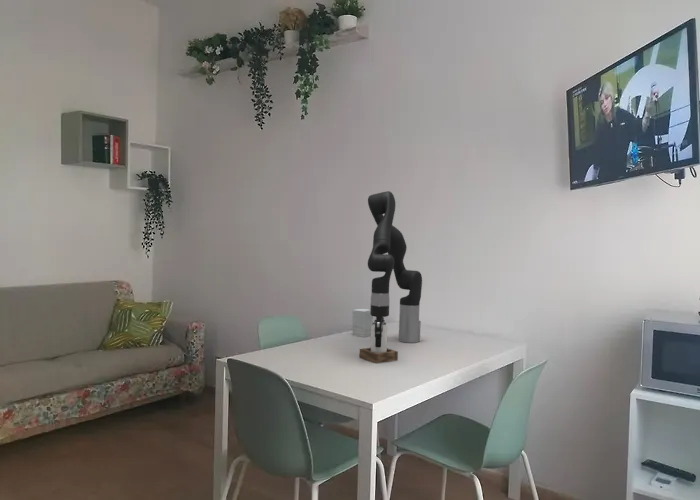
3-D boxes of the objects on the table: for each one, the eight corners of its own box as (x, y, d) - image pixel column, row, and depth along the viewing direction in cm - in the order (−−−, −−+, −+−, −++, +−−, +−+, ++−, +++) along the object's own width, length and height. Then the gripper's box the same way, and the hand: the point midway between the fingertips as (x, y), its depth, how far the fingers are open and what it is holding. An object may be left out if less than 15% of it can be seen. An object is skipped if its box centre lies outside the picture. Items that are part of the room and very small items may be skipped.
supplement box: (372, 335, 274) (373, 309, 273) (363, 337, 268) (364, 311, 268) (361, 333, 279) (361, 308, 278) (351, 335, 273) (352, 309, 273)
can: (375, 355, 220) (376, 325, 220) (367, 352, 226) (368, 322, 226) (389, 354, 223) (390, 324, 223) (381, 350, 229) (382, 321, 229)
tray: (381, 354, 232) (381, 346, 232) (397, 360, 223) (397, 351, 223) (359, 357, 226) (359, 348, 226) (375, 363, 217) (375, 354, 217)
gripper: (372, 301, 232) (371, 341, 232) (369, 306, 217) (367, 348, 218) (390, 302, 231) (389, 342, 231) (388, 306, 216) (387, 349, 217)
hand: (378, 345), depth 225 cm, fingers closed on can, 6 cm apart
